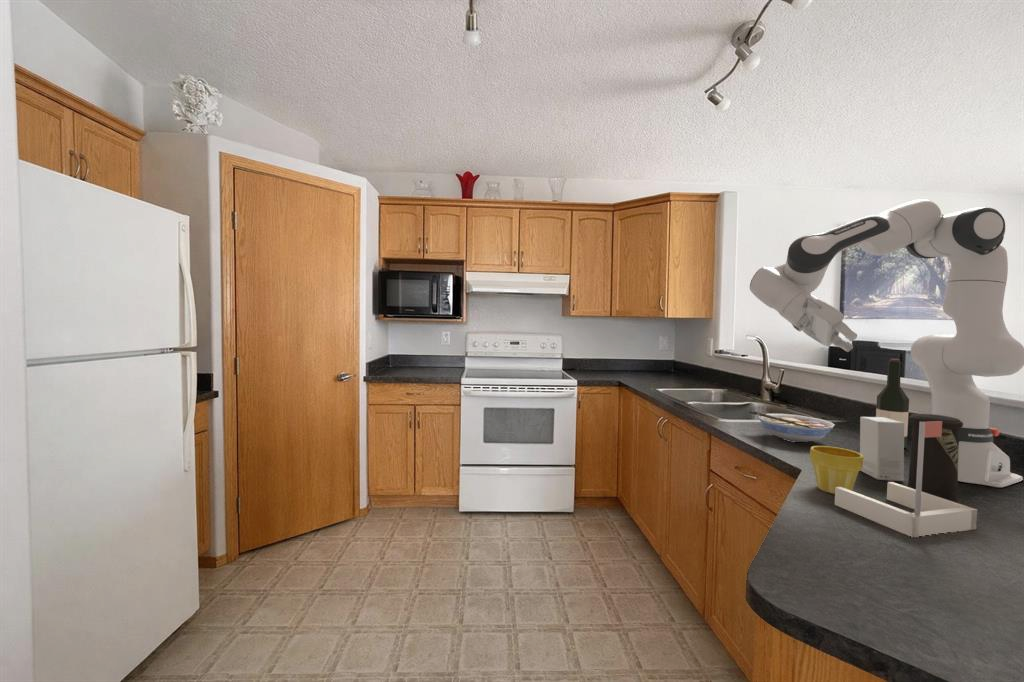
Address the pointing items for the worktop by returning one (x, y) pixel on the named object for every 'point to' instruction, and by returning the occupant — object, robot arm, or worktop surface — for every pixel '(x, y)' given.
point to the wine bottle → (894, 398)
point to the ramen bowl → (795, 426)
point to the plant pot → (835, 467)
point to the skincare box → (882, 448)
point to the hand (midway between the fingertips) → (852, 344)
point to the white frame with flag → (912, 502)
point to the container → (936, 457)
